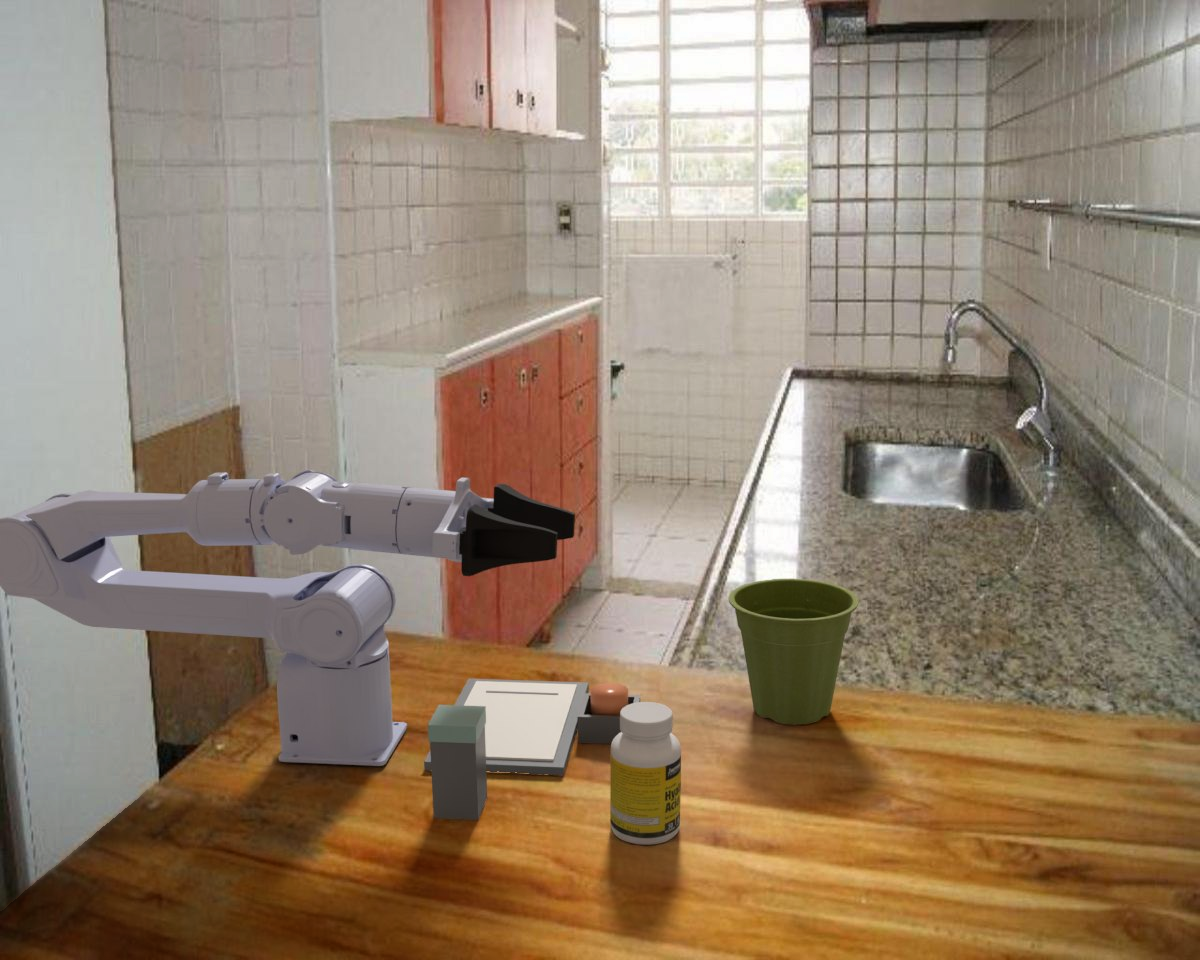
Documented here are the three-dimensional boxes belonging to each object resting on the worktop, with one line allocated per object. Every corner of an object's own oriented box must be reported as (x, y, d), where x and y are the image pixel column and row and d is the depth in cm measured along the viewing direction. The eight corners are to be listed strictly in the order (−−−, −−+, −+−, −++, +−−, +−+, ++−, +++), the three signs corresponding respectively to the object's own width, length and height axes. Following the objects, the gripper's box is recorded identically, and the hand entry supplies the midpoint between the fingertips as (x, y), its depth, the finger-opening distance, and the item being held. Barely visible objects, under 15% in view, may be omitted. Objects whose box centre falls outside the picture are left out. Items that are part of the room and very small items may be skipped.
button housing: (577, 742, 110) (577, 716, 109) (584, 717, 115) (584, 693, 114) (635, 744, 109) (635, 718, 109) (640, 719, 114) (640, 694, 114)
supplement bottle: (675, 850, 92) (676, 730, 90) (604, 843, 93) (603, 724, 91) (685, 815, 97) (685, 699, 95) (617, 808, 98) (616, 694, 96)
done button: (588, 717, 110) (588, 697, 110) (593, 702, 113) (592, 682, 113) (626, 719, 110) (626, 698, 109) (629, 703, 113) (629, 683, 113)
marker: (432, 818, 97) (427, 724, 95) (443, 795, 101) (438, 704, 99) (479, 820, 97) (475, 726, 95) (488, 797, 100) (485, 706, 98)
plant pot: (805, 677, 124) (809, 570, 121) (880, 722, 113) (885, 606, 111) (703, 699, 119) (705, 588, 116) (771, 748, 108) (774, 627, 106)
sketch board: (424, 770, 105) (423, 759, 105) (468, 686, 122) (468, 676, 122) (563, 776, 104) (563, 764, 103) (588, 690, 121) (588, 680, 121)
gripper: (379, 489, 96) (550, 505, 94) (433, 460, 110) (583, 472, 108) (377, 577, 97) (545, 594, 95) (431, 537, 111) (579, 550, 109)
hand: (565, 535), depth 102 cm, fingers open, 7 cm apart
